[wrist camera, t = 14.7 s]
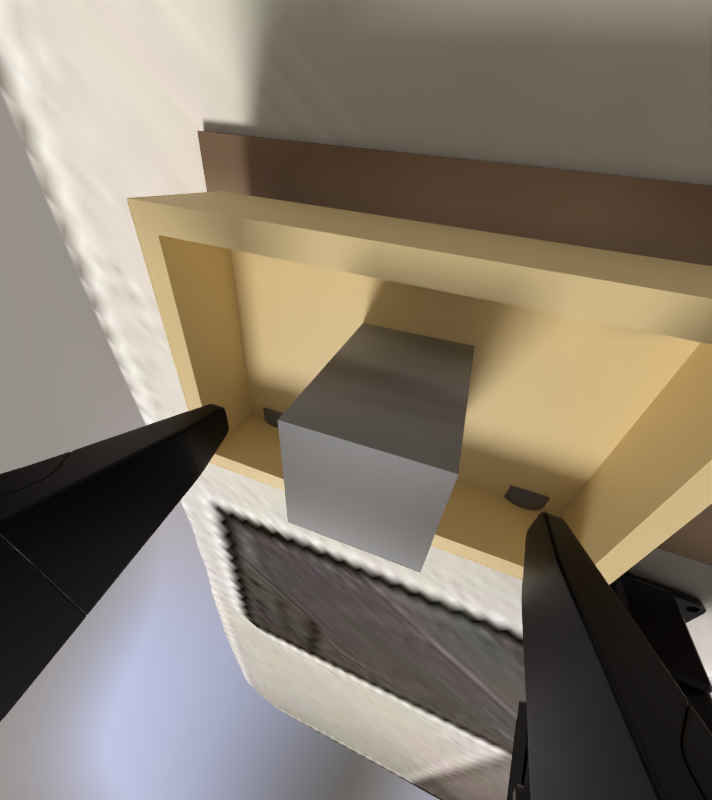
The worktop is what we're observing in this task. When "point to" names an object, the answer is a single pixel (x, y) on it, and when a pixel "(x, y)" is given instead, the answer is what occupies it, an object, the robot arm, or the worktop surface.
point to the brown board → (481, 210)
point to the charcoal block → (378, 442)
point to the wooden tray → (463, 323)
